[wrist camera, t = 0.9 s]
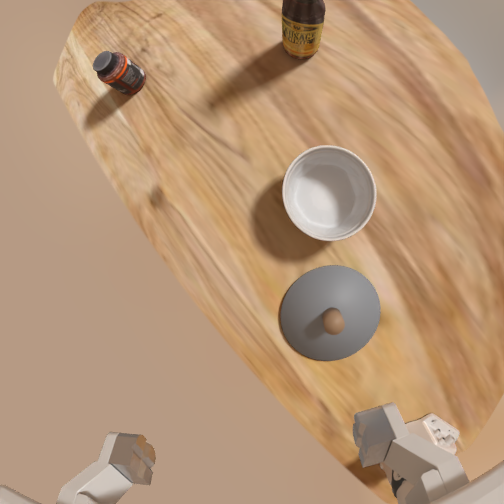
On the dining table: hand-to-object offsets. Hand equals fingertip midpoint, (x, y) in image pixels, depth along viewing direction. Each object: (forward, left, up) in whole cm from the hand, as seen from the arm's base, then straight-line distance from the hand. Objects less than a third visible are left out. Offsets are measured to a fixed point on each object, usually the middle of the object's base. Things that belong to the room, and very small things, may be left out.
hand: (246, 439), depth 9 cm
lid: (-11, +5, -39) cm, 41 cm away
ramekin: (-1, -12, -39) cm, 41 cm away
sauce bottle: (+13, -35, -39) cm, 54 cm away
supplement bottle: (+40, -19, -39) cm, 59 cm away
